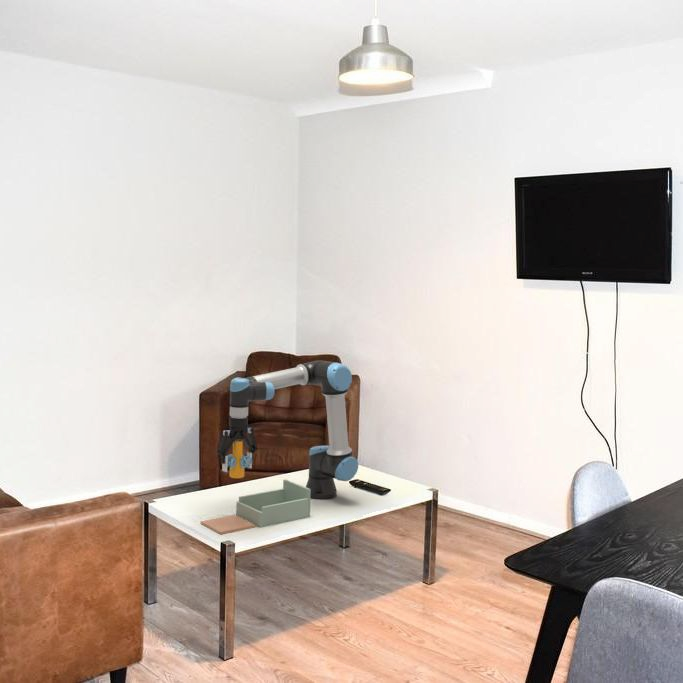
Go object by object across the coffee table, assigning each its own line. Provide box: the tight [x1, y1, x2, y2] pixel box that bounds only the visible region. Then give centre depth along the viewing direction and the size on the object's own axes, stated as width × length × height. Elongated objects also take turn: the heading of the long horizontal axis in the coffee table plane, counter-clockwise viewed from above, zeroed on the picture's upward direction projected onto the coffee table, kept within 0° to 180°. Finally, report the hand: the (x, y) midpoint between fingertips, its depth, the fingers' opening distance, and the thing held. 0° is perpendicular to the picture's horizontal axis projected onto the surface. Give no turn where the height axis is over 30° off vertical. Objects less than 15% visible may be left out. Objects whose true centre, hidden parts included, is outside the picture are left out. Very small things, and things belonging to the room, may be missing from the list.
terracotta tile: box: [200, 514, 256, 535], centre depth 335 cm, size 16×16×1 cm
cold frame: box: [235, 479, 311, 528], centre depth 348 cm, size 25×18×12 cm
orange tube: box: [227, 439, 253, 479], centre depth 335 cm, size 12×10×15 cm
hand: (237, 469), depth 335 cm, fingers closed on orange tube, 11 cm apart
